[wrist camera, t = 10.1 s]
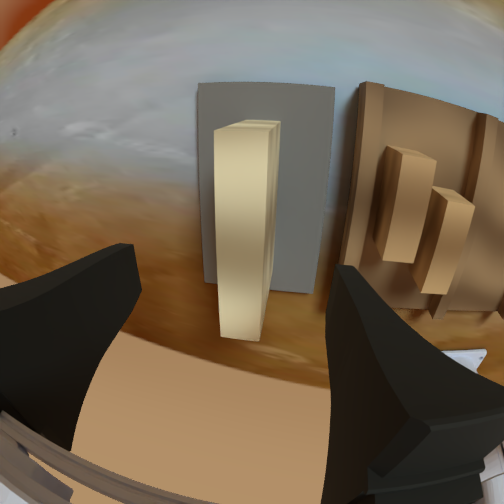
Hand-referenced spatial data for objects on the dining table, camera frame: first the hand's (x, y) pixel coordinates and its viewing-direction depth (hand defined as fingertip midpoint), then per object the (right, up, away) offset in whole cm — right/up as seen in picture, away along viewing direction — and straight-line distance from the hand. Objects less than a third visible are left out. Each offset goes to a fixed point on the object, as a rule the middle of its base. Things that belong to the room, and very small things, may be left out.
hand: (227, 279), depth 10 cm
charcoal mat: (+1, +5, +9) cm, 10 cm away
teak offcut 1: (+10, +4, +6) cm, 12 cm away
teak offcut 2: (+13, +2, +7) cm, 15 cm away
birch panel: (+1, +4, +8) cm, 9 cm away
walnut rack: (+15, +3, +7) cm, 17 cm away
